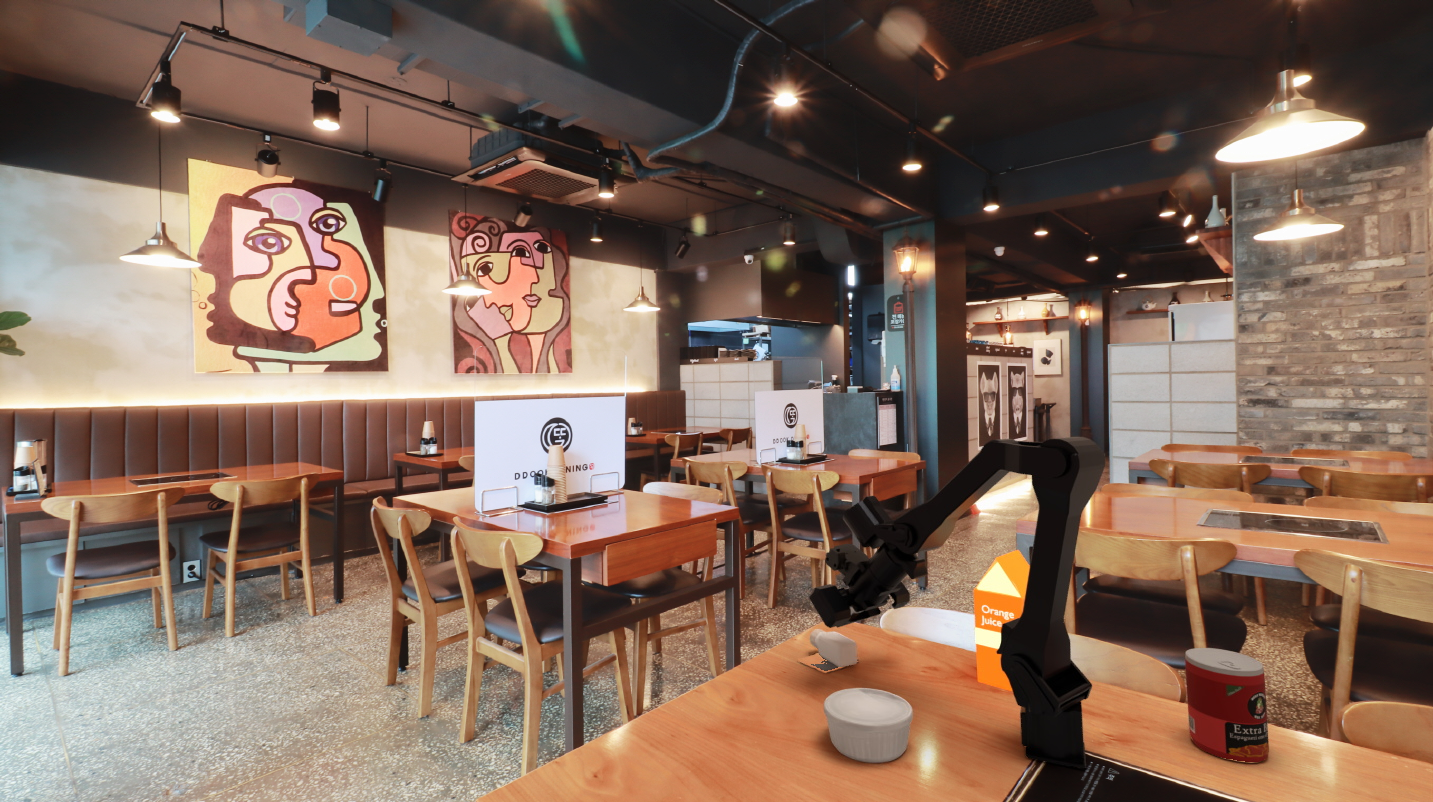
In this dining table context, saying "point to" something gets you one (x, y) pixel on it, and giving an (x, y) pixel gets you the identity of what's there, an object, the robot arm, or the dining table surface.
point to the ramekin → (868, 724)
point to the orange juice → (997, 613)
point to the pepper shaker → (834, 647)
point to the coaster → (826, 665)
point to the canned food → (1227, 704)
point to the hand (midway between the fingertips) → (836, 624)
